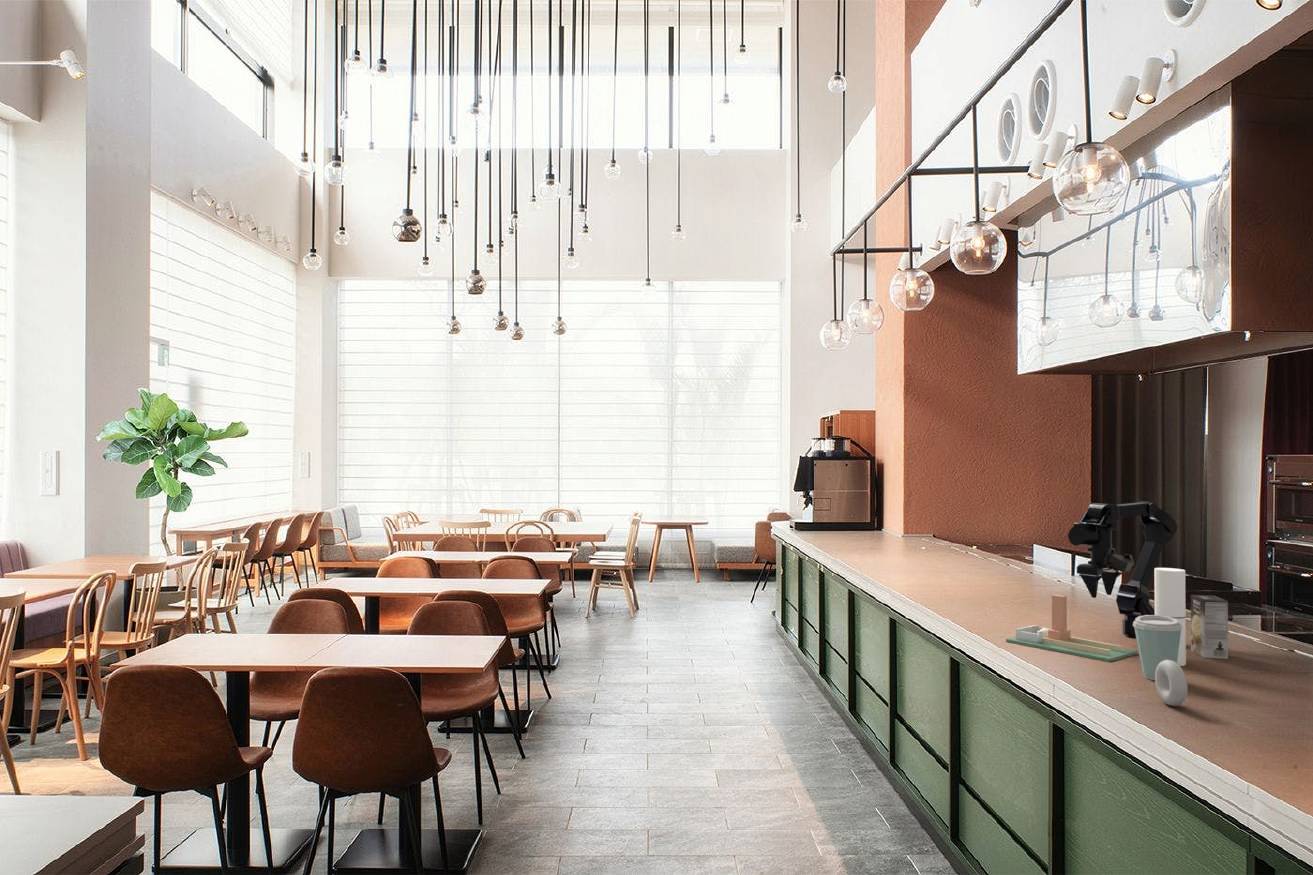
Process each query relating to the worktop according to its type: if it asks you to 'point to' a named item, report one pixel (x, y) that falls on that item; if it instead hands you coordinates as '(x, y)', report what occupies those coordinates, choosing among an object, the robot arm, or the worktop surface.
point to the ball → (1045, 632)
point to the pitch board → (1080, 648)
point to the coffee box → (1209, 626)
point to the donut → (1171, 683)
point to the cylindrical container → (1172, 601)
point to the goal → (1030, 634)
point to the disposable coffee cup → (1156, 641)
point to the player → (1059, 619)
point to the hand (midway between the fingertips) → (1101, 596)
